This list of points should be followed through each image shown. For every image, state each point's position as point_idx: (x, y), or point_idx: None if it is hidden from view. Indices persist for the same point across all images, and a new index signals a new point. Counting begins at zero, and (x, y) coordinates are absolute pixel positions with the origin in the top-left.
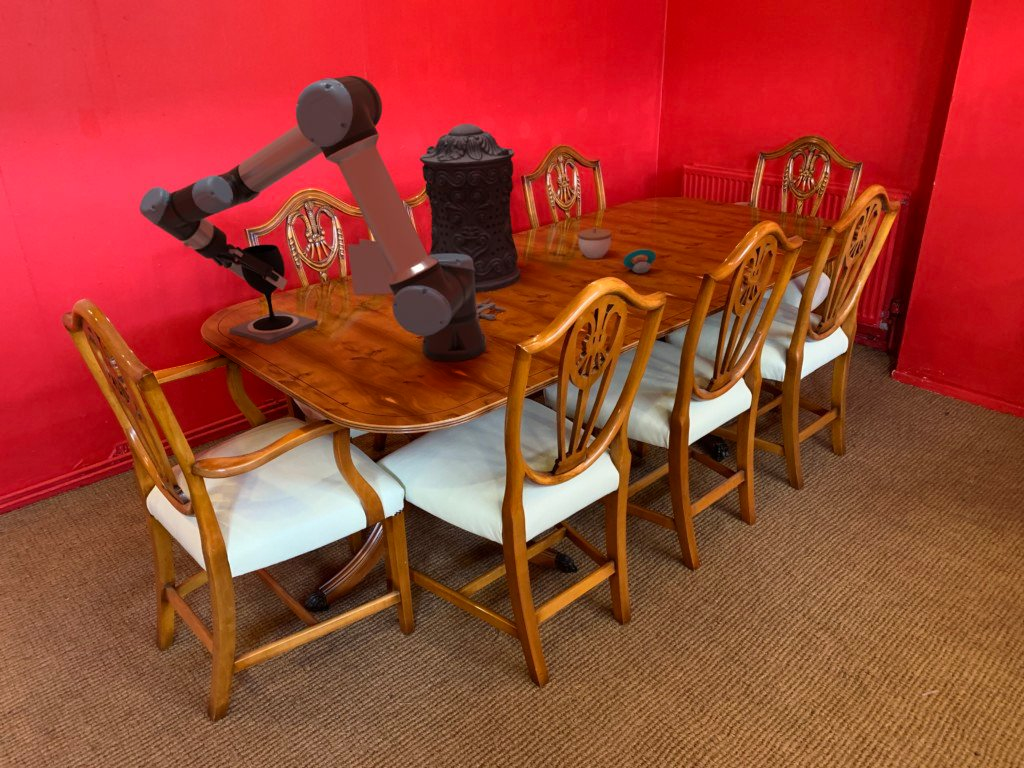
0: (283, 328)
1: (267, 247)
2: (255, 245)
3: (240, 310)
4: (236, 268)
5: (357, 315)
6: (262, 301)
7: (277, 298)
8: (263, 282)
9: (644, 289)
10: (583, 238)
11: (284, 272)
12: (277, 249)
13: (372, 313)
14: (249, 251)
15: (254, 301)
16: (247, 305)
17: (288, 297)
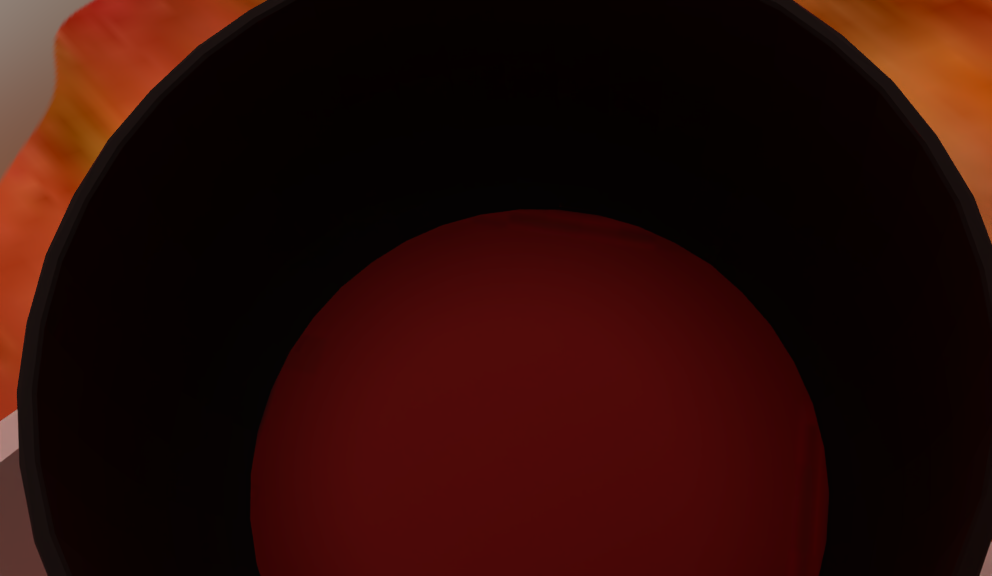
0: None
1: (376, 4)
2: (142, 101)
3: (15, 340)
4: (2, 562)
5: (923, 107)
6: (69, 152)
7: (139, 76)
8: None
9: None
10: None
11: (765, 278)
12: (901, 105)
13: (988, 45)
14: (102, 297)
15: (12, 171)
16: (8, 246)
17: (202, 38)
